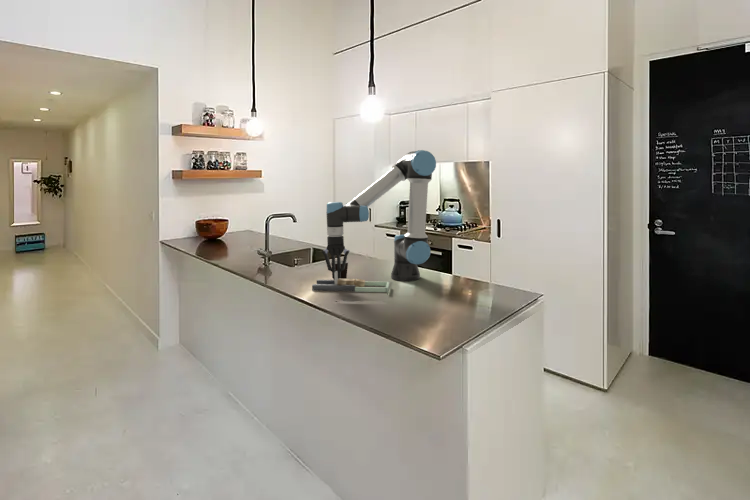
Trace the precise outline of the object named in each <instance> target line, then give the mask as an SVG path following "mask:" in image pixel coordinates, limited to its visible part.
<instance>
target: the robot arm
mask: <svg viewBox="0 0 750 500" xmlns="http://www.w3.org/2000/svg"><path fill="white" fill-rule="evenodd" d="M436 160H437V159H436V157H435V156H434V155H433V154H432V153H431V152H430V151H428V150H423V149H421V150H420V149H419V150H413V151H409V152H407V153H406V154H405V155H404V156H402V157H401V158H399V160H397V162H395V163H394V164H393V165H392V166H391V169H390V170H389V171H386V173H385V174H383V175H382V176H381V177H379V178H378V179H377V180H375V182H373V183H372V184H371V185H369V186H368V187H367V188H366V189H364V190H363V191H362V192H360V193H359V194H358V195H357V196H356V197H354V198H353V199H352V200H350V201H349V202H348V203H345V204H343V202H341V201H329V202H327V204H326V231H327V232H326V234H327V239H326V240H327V246H326V248H325V249H323V250H322V251H321V253H322V254H323V256H324V259H325V263H326V267H327V271H330V272H331V273H332V274H331V275H332V276H331V277H332V279H333V278H334V279H335V284H337V280H338V279H340V278H341V271H343V270H344V269H345V264H346V261H347V259H348V256H349V254H350V253H351V251H350V249H347V248H346V247H345V241H344V240H345V239H344V238H345V237H344V223H362V222H364V223H365V222H368V220H369V219H370V212H369V211H370V210H369V207H370V206H372V204H374V203H375V202H377V200H379V199H380V198H382V196H384V195H385V194H386V193H388V192H389V191H390V190H391V189H393V188H394V187H396V185H398V184H399V183H401V181H402V182H404V181H406V180H408V182H409V196H408V197H409V198H408V215H407V218H408V219H407V232H405V233H404V234H396V235H395V236H394V239H393V243H394V247H393V248H394V251H393V252H394V255H393V257H394V258H393V260H394V263H393V266H392V270H391V272H390V278H391V279H392V280H395V281H398V282H399V281H401V282H402V281H404V282H411V281H417V280H420V278H421V273H420V270H419V267H418V265H422V264H424V263H425V262H427V261H428V259H429V258H430V256H431V250H432V249H431V247H430V245H429V244H428V242H429V236H428V235H427V234H426V223H427V207H428V190H429V189H428V188H429V183H430V182H431V181H432V179H433V177H432V176H433V173H434V171H435V170H436V167H437V161H436ZM342 253H343V254H344V255H343V258H342V259H343V263H342V268H341V260H342V259H341V255H342ZM329 254H330V257H331V260H330V257H329ZM335 261H337V271H335V270H336V269H335ZM331 262H332V265H331ZM334 279H333V280H334Z"/></svg>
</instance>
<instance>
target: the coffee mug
mask: <svg viewBox="0 0 750 500" xmlns="http://www.w3.org/2000/svg"><path fill="white" fill-rule="evenodd" d="M342 263H343V260H342V259H341V268H342ZM330 264H331V266H332V261H330ZM348 267H349V261H347V260H346V264H345V269H344V270H343V271H341V278H340V279H348V278H347V277H348V269H349V268H348ZM335 269H336V270H335V271H337V260H335ZM332 280H335V279H334V278H332Z"/></svg>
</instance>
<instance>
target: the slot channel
mask: <svg viewBox="0 0 750 500" xmlns="http://www.w3.org/2000/svg"><path fill="white" fill-rule="evenodd" d="M355 287H356V285H340V284H335V280H334V279H316V283H313V284H312V285H311V290H312V291H313V292H314V291H317V292H320V291H321V292H323V291H324V292H327V291H329V292H355Z"/></svg>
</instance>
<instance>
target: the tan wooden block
mask: <svg viewBox="0 0 750 500" xmlns="http://www.w3.org/2000/svg"><path fill="white" fill-rule="evenodd" d="M356 280H357V278H347V280H346V285H355V283H356Z"/></svg>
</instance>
